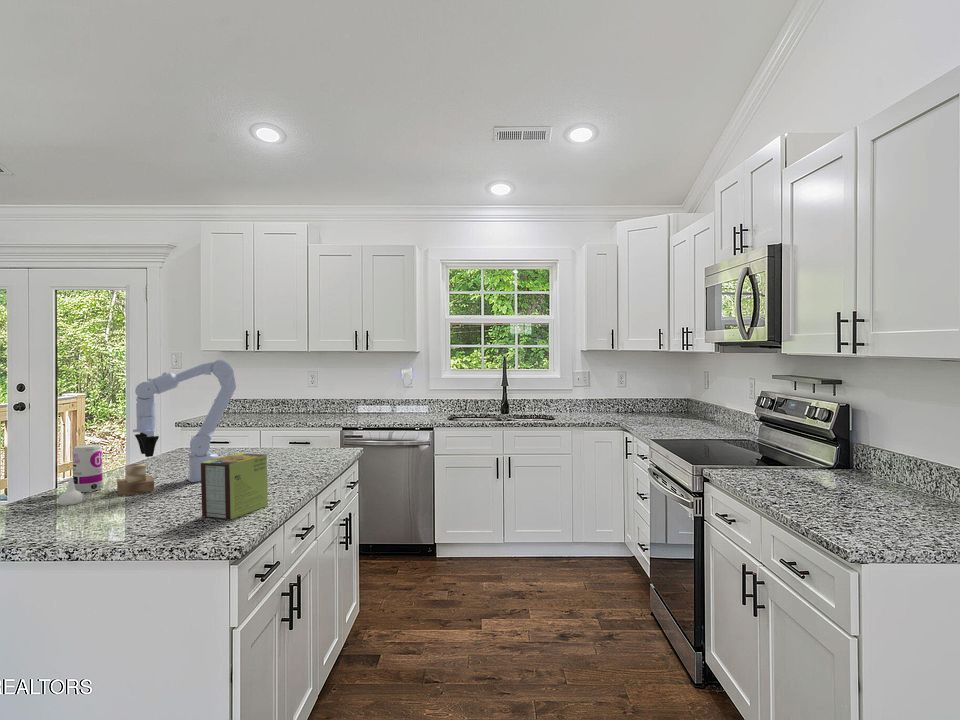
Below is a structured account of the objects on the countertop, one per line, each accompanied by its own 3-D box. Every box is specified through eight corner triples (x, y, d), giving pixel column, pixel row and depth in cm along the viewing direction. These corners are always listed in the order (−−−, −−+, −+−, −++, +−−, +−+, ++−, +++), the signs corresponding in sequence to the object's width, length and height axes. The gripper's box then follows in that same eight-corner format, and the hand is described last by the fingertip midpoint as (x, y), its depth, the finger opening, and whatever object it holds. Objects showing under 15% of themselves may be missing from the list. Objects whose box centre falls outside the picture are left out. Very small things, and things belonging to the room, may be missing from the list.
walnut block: (151, 487, 198) (151, 475, 198) (154, 493, 190) (153, 481, 190) (117, 491, 193) (117, 479, 192) (118, 497, 184) (118, 485, 184)
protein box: (268, 505, 171) (267, 454, 171) (230, 520, 157) (229, 464, 156) (240, 503, 174) (239, 452, 174) (200, 517, 160) (199, 462, 160)
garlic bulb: (69, 508, 173) (71, 482, 173) (52, 505, 174) (54, 479, 174) (88, 502, 179) (89, 477, 179) (71, 500, 180) (72, 474, 180)
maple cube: (142, 477, 195) (142, 463, 194) (145, 480, 191) (145, 465, 191) (125, 480, 191) (125, 465, 191) (128, 482, 188) (128, 467, 187)
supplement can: (108, 487, 197) (107, 444, 196) (90, 493, 188) (88, 448, 188) (86, 487, 197) (85, 443, 197) (67, 493, 189) (66, 448, 189)
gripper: (129, 415, 203) (130, 453, 203) (136, 419, 191) (137, 459, 192) (151, 413, 207) (152, 451, 207) (160, 417, 196) (161, 456, 196)
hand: (147, 455), depth 200 cm, fingers open, 7 cm apart
